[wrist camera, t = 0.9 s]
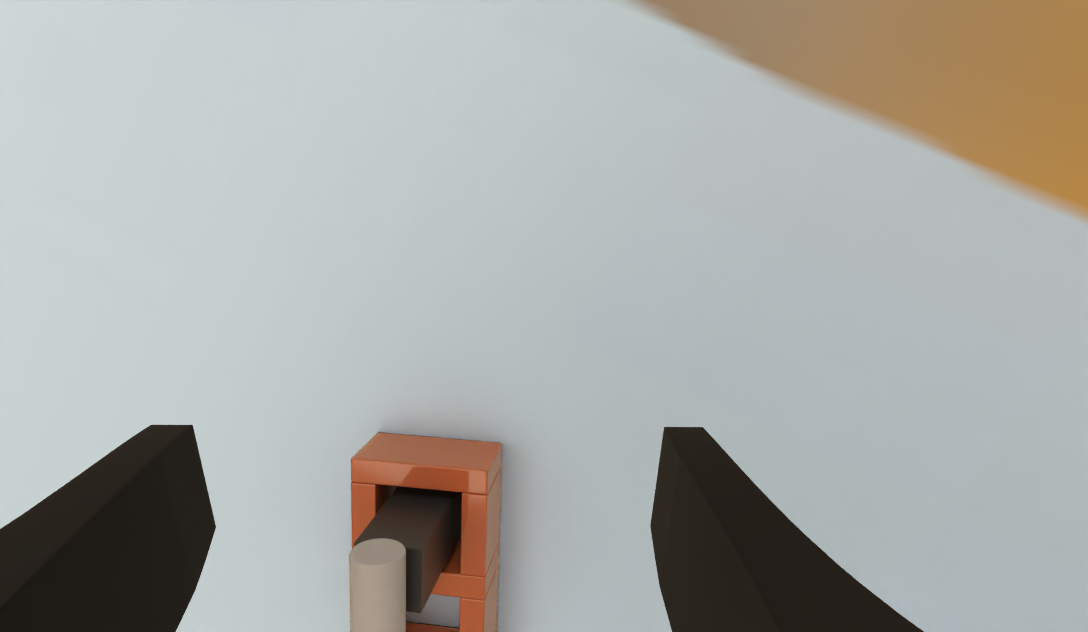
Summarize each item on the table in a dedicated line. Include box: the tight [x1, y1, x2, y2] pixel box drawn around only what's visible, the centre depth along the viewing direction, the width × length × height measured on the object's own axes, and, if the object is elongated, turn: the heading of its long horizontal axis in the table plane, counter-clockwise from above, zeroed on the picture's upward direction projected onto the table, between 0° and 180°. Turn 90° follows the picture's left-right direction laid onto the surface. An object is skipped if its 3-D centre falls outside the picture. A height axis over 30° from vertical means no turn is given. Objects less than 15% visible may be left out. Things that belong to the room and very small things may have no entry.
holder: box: [351, 433, 502, 632], centre depth 30 cm, size 10×5×3 cm, turn 178°
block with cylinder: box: [349, 486, 462, 632], centre depth 27 cm, size 3×2×8 cm
